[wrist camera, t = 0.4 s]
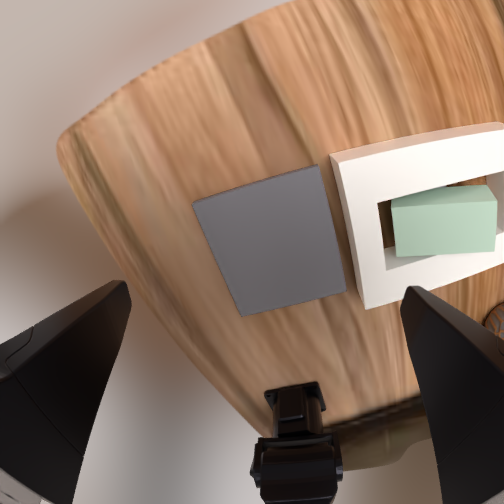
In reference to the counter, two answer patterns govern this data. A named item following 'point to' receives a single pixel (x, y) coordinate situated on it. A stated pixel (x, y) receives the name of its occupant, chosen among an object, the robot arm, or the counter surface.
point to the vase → (496, 321)
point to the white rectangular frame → (408, 182)
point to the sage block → (445, 221)
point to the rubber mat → (274, 241)
